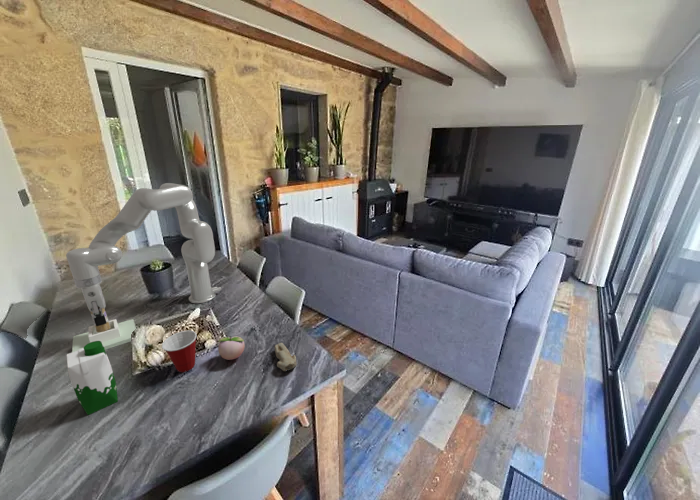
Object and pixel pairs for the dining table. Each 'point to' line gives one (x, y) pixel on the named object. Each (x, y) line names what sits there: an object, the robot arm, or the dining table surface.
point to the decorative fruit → (231, 347)
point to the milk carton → (92, 377)
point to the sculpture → (284, 357)
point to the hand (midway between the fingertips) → (101, 321)
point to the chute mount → (106, 335)
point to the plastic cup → (181, 349)
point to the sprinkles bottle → (101, 327)
